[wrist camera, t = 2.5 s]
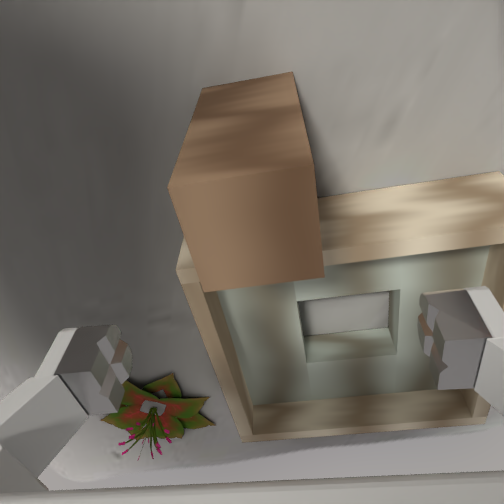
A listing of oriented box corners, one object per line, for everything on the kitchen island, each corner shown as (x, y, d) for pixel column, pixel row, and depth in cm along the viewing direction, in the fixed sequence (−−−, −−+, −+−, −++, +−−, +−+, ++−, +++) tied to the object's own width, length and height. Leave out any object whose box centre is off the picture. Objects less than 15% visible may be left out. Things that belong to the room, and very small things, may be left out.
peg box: (244, 386, 36) (242, 442, 32) (188, 217, 25) (175, 269, 21) (458, 366, 34) (484, 423, 30) (499, 171, 23) (548, 221, 19)
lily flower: (237, 423, 41) (235, 471, 37) (132, 443, 44) (121, 490, 40) (182, 351, 34) (173, 401, 30) (62, 381, 37) (40, 430, 33)
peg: (222, 169, 23) (203, 292, 15) (202, 88, 21) (167, 187, 13) (302, 156, 23) (324, 277, 15) (292, 71, 20) (314, 164, 12)
